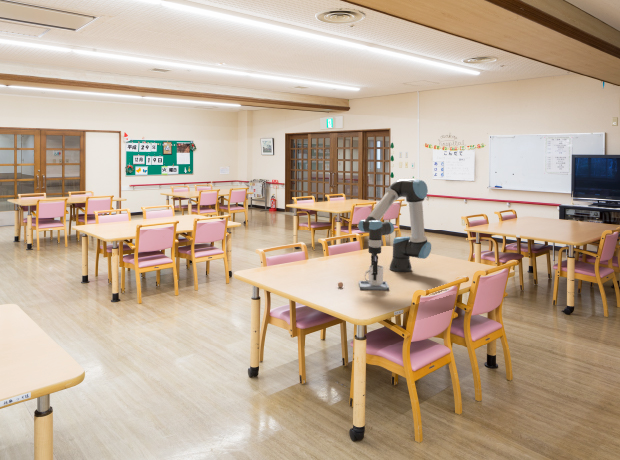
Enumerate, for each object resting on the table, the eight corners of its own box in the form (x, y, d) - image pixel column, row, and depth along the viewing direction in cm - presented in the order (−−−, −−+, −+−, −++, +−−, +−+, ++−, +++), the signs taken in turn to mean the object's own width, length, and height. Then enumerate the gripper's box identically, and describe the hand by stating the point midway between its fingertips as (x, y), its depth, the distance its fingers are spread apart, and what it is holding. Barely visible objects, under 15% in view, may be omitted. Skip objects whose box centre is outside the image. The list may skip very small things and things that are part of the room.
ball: (343, 286, 294) (343, 281, 293) (343, 288, 291) (343, 282, 290) (337, 286, 294) (337, 281, 293) (337, 288, 291) (337, 282, 290)
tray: (386, 284, 301) (386, 281, 301) (388, 290, 287) (389, 287, 287) (358, 283, 302) (358, 280, 301) (360, 289, 288) (360, 286, 288)
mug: (360, 283, 295) (361, 266, 293) (377, 281, 300) (378, 264, 298) (367, 286, 287) (368, 269, 286) (385, 285, 292) (386, 267, 290)
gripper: (367, 243, 301) (366, 278, 305) (370, 249, 280) (368, 287, 284) (379, 243, 301) (378, 278, 304) (383, 250, 280) (381, 288, 283)
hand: (373, 283), depth 294 cm, fingers closed on mug, 9 cm apart
